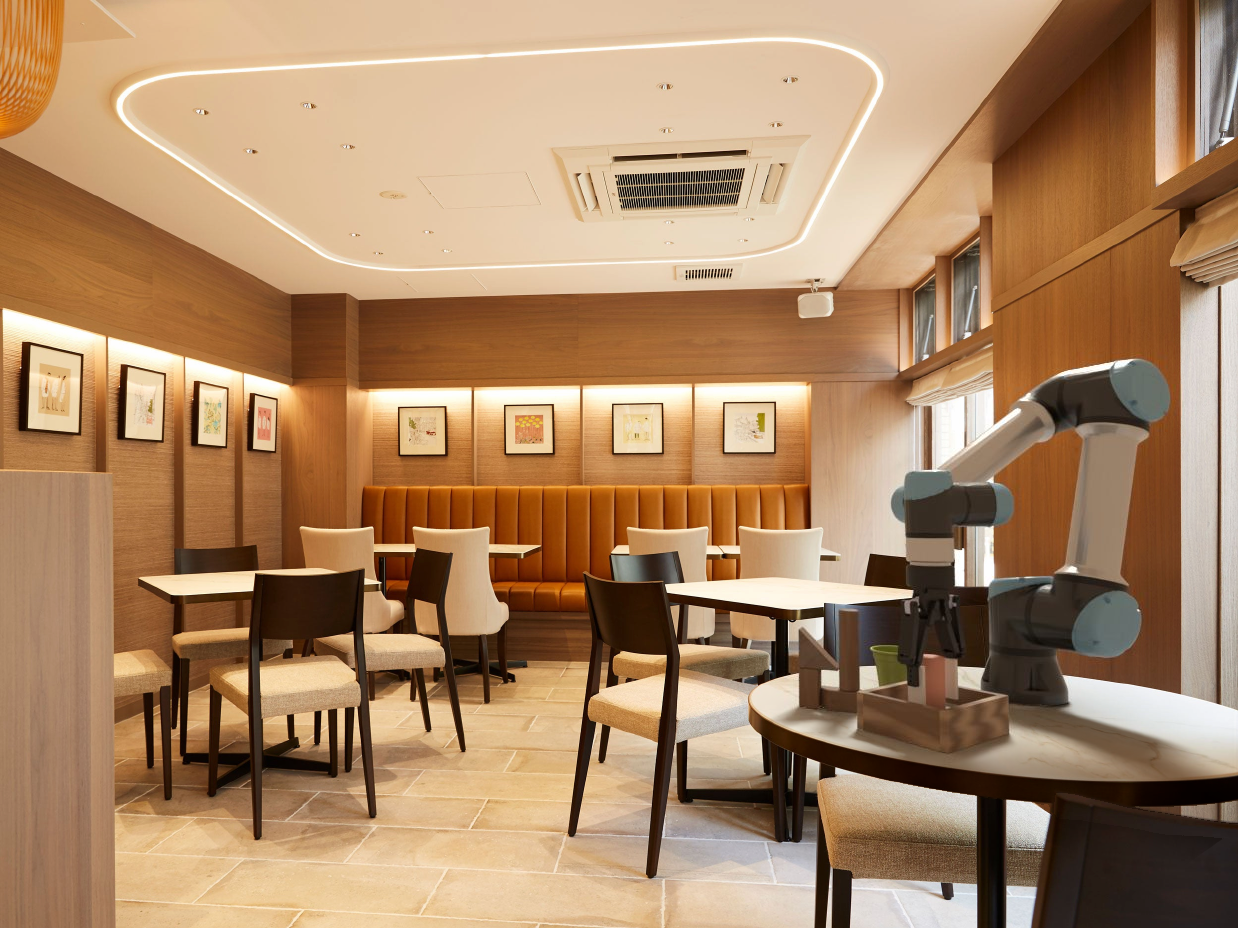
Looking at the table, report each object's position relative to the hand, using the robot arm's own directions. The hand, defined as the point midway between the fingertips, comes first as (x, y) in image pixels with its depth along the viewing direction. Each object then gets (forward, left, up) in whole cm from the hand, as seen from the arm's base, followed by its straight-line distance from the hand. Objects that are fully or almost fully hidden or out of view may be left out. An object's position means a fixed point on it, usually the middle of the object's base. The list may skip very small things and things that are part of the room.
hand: (933, 701), depth 128 cm
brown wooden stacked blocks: (+2, -19, -5) cm, 20 cm away
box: (0, 0, -5) cm, 5 cm away
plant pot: (-18, -19, -5) cm, 26 cm away
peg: (+1, 0, -5) cm, 5 cm away
